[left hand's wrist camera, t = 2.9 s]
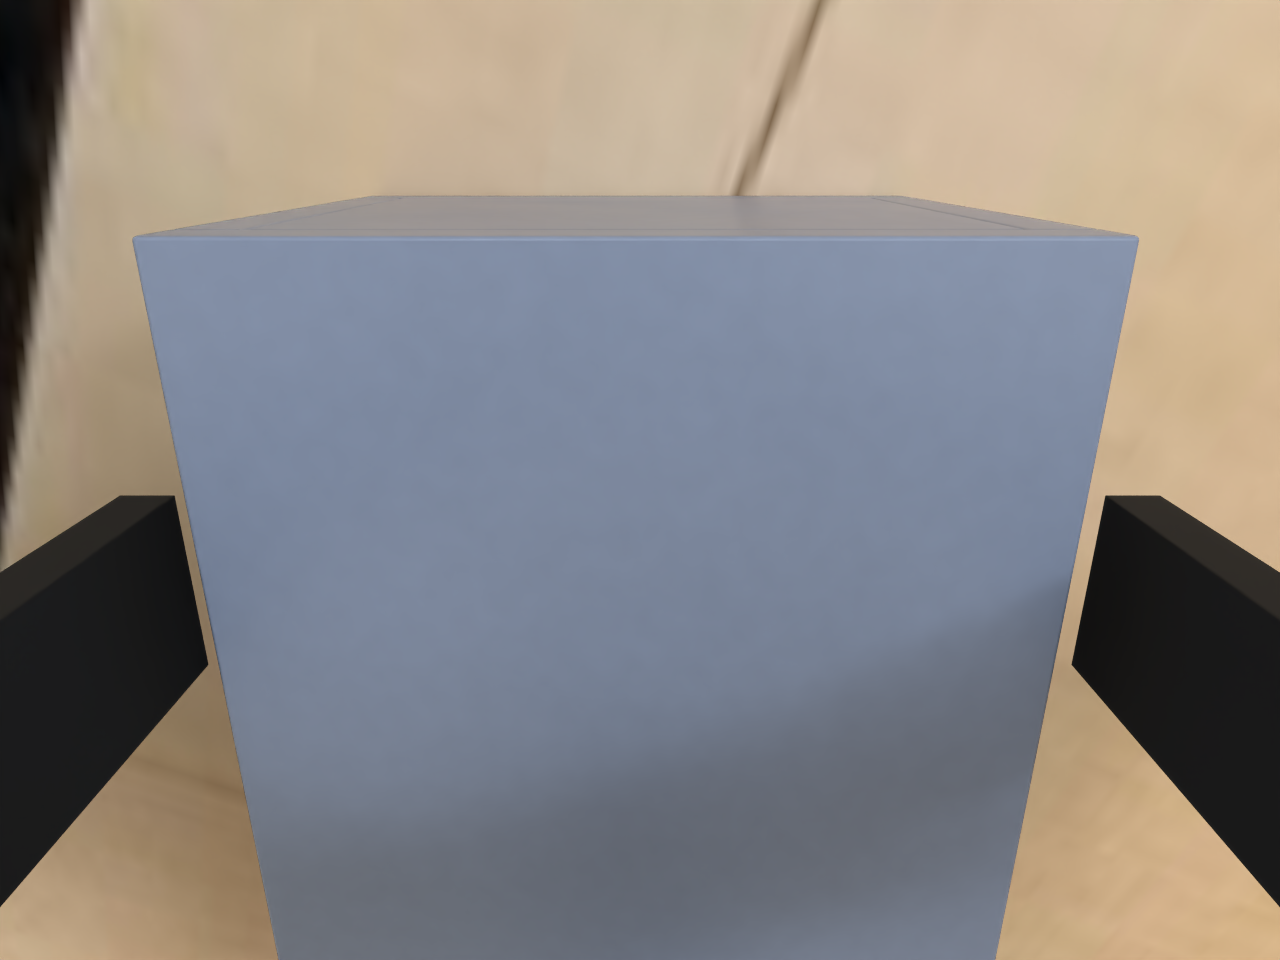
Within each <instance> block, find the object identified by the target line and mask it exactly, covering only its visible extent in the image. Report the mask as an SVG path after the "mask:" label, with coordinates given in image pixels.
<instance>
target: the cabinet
mask: <svg viewBox="0 0 1280 960" xmlns="http://www.w3.org/2000/svg"><path fill="white" fill-rule="evenodd" d="M1138 242H1139V238H1138V237H1137V236H1135V235H1129V234H1123V233H1117V232H1111V231H1105V230H1097V229H1093V228H1087V227H1081V226H1075V225H1069V224H1064V223H1058V222H1052V221H1046V220H1040V219H1034V218H1028V217H1023V216H1017V215H1011V214H1005V213H999V212H993V211H987V210H981V209H976V208H970V207H964V206H958V205H952V204H946V203H940V202H934V201H929V200H923V199H917V198H910V197H904V196H370V197H364V198H357V199H351V200H345V201H339V202H333V203H327V204H321V205H315V206H309V207H303V208H298V209H292V210H286V211H280V212H274V213H268V214H262V215H256V216H250V217H244V218H239V219H233V220H227V221H221V222H215V223H209V224H203V225H197V226H191V227H185V228H179V229H175V230H168V231H162V232H156V233H150V234H144V235H138V236H135V237H133V246H134V251H135V255H136V260H137V265H138V270H139V275H140V280H141V285H142V290H143V295H144V300H145V305H146V310H147V314H148V319H149V324H150V329H151V334H152V339H153V344H154V349H155V354H156V359H157V364H158V369H159V374H160V378H161V383H162V388H163V393H164V398H165V403H166V408H167V413H168V418H169V423H170V428H171V433H172V437H173V442H174V447H175V452H176V457H177V462H178V467H179V472H180V477H181V482H182V487H183V492H184V496H185V501H186V506H187V511H188V516H189V521H190V526H191V531H192V536H193V541H194V546H195V551H196V555H197V560H198V565H199V570H200V575H201V580H202V585H203V590H204V595H205V600H206V605H207V610H208V615H209V619H210V624H211V629H212V634H213V639H214V644H215V649H216V654H217V659H218V664H219V669H220V674H221V678H222V683H223V688H224V693H225V698H226V703H227V708H228V713H229V718H230V723H231V728H232V733H233V737H234V742H235V747H236V752H237V757H238V762H239V767H240V772H241V777H242V782H243V787H244V792H245V796H246V801H247V806H248V811H249V816H250V821H251V826H252V831H253V836H254V841H255V846H256V851H257V856H258V860H259V865H260V870H261V875H262V880H263V885H264V890H265V895H266V900H267V905H268V910H269V915H270V919H271V924H272V929H273V934H274V939H275V944H276V949H277V954H278V959H279V960H995V958H996V953H997V948H998V943H999V938H1000V933H1001V928H1002V923H1003V918H1004V913H1005V908H1006V903H1007V898H1008V893H1009V888H1010V883H1011V878H1012V873H1013V868H1014V863H1015V858H1016V853H1017V848H1018V843H1019V838H1020V833H1021V828H1022V823H1023V818H1024V813H1025V808H1026V803H1027V798H1028V793H1029V788H1030V783H1031V778H1032V773H1033V768H1034V763H1035V758H1036V753H1037V748H1038V743H1039V738H1040V733H1041V728H1042V723H1043V718H1044V713H1045V708H1046V703H1047V698H1048V693H1049V688H1050V683H1051V678H1052V673H1053V668H1054V663H1055V658H1056V653H1057V648H1058V643H1059V638H1060V633H1061V628H1062V623H1063V618H1064V613H1065V608H1066V603H1067V598H1068V593H1069V588H1070V583H1071V578H1072V573H1073V568H1074V563H1075V558H1076V553H1077V548H1078V543H1079V538H1080V533H1081V528H1082V523H1083V518H1084V513H1085V508H1086V503H1087V498H1088V493H1089V488H1090V483H1091V478H1092V473H1093V468H1094V463H1095V458H1096V452H1097V447H1098V442H1099V437H1100V432H1101V427H1102V422H1103V417H1104V412H1105V407H1106V402H1107V397H1108V392H1109V387H1110V382H1111V377H1112V372H1113V367H1114V362H1115V357H1116V352H1117V347H1118V342H1119V337H1120V332H1121V327H1122V322H1123V317H1124V312H1125V307H1126V302H1127V297H1128V292H1129V287H1130V282H1131V277H1132V272H1133V267H1134V262H1135V257H1136V252H1137V247H1138Z"/></svg>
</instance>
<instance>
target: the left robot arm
mask: <svg viewBox="0 0 1280 960" xmlns="http://www.w3.org/2000/svg"><path fill="white" fill-rule="evenodd" d="M207 666H208V660H207V655H206V650H205V645H204V640H203V635H202V630H201V625H200V620H199V615H198V610H197V606H196V601H195V596H194V591H193V586H192V581H191V576H190V571H189V566H188V561H187V556H186V551H185V546H184V541H183V536H182V531H181V526H180V521H179V516H178V511H177V506H176V501H175V496H119V497H117V498H116V499H114V500H113V501H111V502H109V503H108V504H106V505H105V506H103V507H102V508H100V509H99V510H97V511H95V512H94V513H92V514H91V515H89V516H88V517H86V518H85V519H83V520H81V521H80V522H78V523H77V524H75V525H74V526H72V527H70V528H69V529H67V530H66V531H64V532H63V533H61V534H60V535H58V536H56V537H55V538H53V539H52V540H50V541H49V542H47V543H46V544H44V545H42V546H41V547H39V548H38V549H36V550H35V551H33V552H32V553H30V554H28V555H27V556H25V557H24V558H22V559H21V560H19V561H17V562H16V563H14V564H13V565H11V566H10V567H8V568H7V569H5V570H3V571H2V572H0V907H1V905H2V904H3V903H4V902H5V901H6V900H7V899H8V897H9V896H10V895H11V894H12V893H13V892H14V890H15V889H16V888H17V887H18V886H19V885H20V883H21V882H22V881H23V880H24V879H25V878H26V876H27V875H28V874H29V873H30V872H31V871H32V869H33V868H34V867H35V866H36V865H37V864H38V862H39V861H40V860H41V859H42V858H43V857H44V855H45V854H46V853H47V852H48V851H49V850H50V848H51V847H52V846H53V845H54V844H55V843H56V841H57V840H58V839H59V838H60V837H61V836H62V834H63V833H64V832H65V831H66V830H67V829H68V827H69V826H70V825H71V824H72V823H73V822H74V820H75V819H76V818H77V817H78V816H79V815H80V814H81V812H82V811H83V810H84V809H85V808H86V807H87V805H88V804H89V803H90V802H91V801H92V800H93V798H94V797H95V796H96V795H97V794H98V793H99V791H100V790H101V789H102V788H103V787H104V786H105V784H106V783H107V782H108V781H109V780H110V779H111V777H112V776H113V775H114V774H115V773H116V772H117V770H118V769H119V768H120V767H121V766H122V765H123V763H124V762H125V761H126V760H127V759H128V758H129V756H130V755H131V754H132V753H133V752H134V751H135V749H136V748H137V747H138V746H139V745H140V744H141V742H142V741H143V740H144V739H145V738H146V737H147V736H148V734H149V733H150V732H151V731H152V730H153V729H154V727H155V726H156V725H157V724H158V723H159V722H160V720H161V719H162V718H163V717H164V716H165V715H166V713H167V712H168V711H169V710H170V709H171V708H172V706H173V705H174V704H175V703H176V702H177V701H178V699H179V698H180V697H181V696H182V695H183V694H184V692H185V691H186V690H187V689H188V688H189V687H190V685H191V684H192V683H193V682H194V681H195V680H196V678H197V677H198V676H199V675H200V674H201V673H202V671H203V670H204V669H205V668H206V667H207ZM1072 666H1073V667H1074V668H1075V669H1076V670H1077V671H1078V673H1079V674H1080V675H1081V676H1082V677H1083V678H1084V680H1085V681H1086V682H1087V683H1088V684H1089V685H1090V687H1091V688H1092V689H1093V690H1094V691H1095V692H1096V694H1097V695H1098V696H1099V697H1100V698H1101V699H1102V701H1103V702H1104V703H1105V704H1106V705H1107V706H1108V708H1109V709H1110V710H1111V711H1112V712H1113V713H1114V715H1115V716H1116V717H1117V718H1118V719H1119V720H1120V722H1121V723H1122V724H1123V725H1124V726H1125V727H1126V729H1127V730H1128V731H1129V732H1130V733H1131V734H1132V736H1133V737H1134V738H1135V739H1136V740H1137V741H1138V742H1139V744H1140V745H1141V746H1142V747H1143V748H1144V749H1145V751H1146V752H1147V753H1148V754H1149V755H1150V756H1151V758H1152V759H1153V760H1154V761H1155V762H1156V763H1157V765H1158V766H1159V767H1160V768H1161V769H1162V770H1163V772H1164V773H1165V774H1166V775H1167V776H1168V777H1169V779H1170V780H1171V781H1172V782H1173V783H1174V784H1175V786H1176V787H1177V788H1178V789H1179V790H1180V791H1181V793H1182V794H1183V795H1184V796H1185V797H1186V798H1187V800H1188V801H1189V802H1190V803H1191V804H1192V805H1193V807H1194V808H1195V809H1196V810H1197V811H1198V812H1199V814H1200V815H1201V816H1202V817H1203V818H1204V819H1205V820H1206V822H1207V823H1208V824H1209V825H1210V826H1211V827H1212V829H1213V830H1214V831H1215V832H1216V833H1217V834H1218V836H1219V837H1220V838H1221V839H1222V840H1223V841H1224V843H1225V844H1226V845H1227V846H1228V847H1229V848H1230V850H1231V851H1232V852H1233V853H1234V854H1235V855H1236V857H1237V858H1238V859H1239V860H1240V861H1241V862H1242V864H1243V865H1244V866H1245V867H1246V868H1247V869H1248V871H1249V872H1250V873H1251V874H1252V875H1253V876H1254V878H1255V879H1256V880H1257V881H1258V882H1259V883H1260V885H1261V886H1262V887H1263V888H1264V889H1265V890H1266V892H1267V893H1268V894H1269V895H1270V896H1271V897H1272V899H1273V900H1274V901H1275V902H1276V903H1277V904H1278V905H1279V907H1280V572H1278V571H1277V570H1275V569H1273V568H1272V567H1270V566H1269V565H1267V564H1266V563H1264V562H1263V561H1261V560H1259V559H1258V558H1256V557H1255V556H1253V555H1252V554H1250V553H1248V552H1247V551H1245V550H1244V549H1242V548H1241V547H1239V546H1238V545H1236V544H1234V543H1233V542H1231V541H1230V540H1228V539H1227V538H1225V537H1224V536H1222V535H1220V534H1219V533H1217V532H1216V531H1214V530H1213V529H1211V528H1210V527H1208V526H1206V525H1205V524H1203V523H1202V522H1200V521H1199V520H1197V519H1195V518H1194V517H1192V516H1191V515H1189V514H1188V513H1186V512H1185V511H1183V510H1181V509H1180V508H1178V507H1177V506H1175V505H1174V504H1172V503H1171V502H1169V501H1167V500H1166V499H1164V498H1163V497H1161V496H1105V501H1104V506H1103V511H1102V516H1101V521H1100V526H1099V531H1098V536H1097V541H1096V546H1095V551H1094V556H1093V561H1092V566H1091V571H1090V576H1089V581H1088V586H1087V591H1086V596H1085V601H1084V605H1083V610H1082V615H1081V620H1080V625H1079V630H1078V635H1077V640H1076V645H1075V650H1074V655H1073V660H1072Z"/></svg>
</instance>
